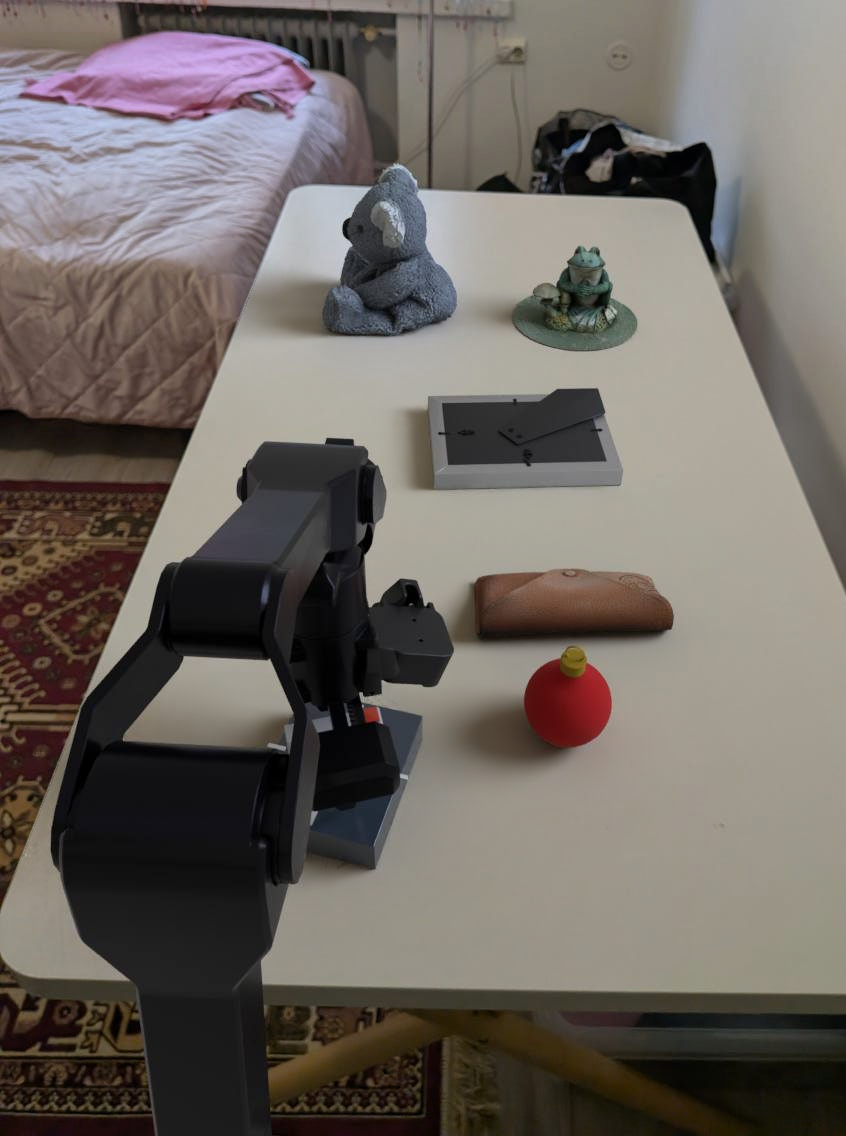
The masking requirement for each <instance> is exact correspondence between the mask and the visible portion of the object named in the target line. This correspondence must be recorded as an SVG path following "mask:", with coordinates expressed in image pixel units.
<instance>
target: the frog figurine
mask: <svg viewBox="0 0 846 1136" xmlns="http://www.w3.org/2000/svg"><path fill="white" fill-rule="evenodd" d="M566 264H567V267H565V268H564V269H563V270H562V271H561V273H560V275H559V278H558V280H557V281H556V284H555V285H554V284H552V283H550V282H543V283H540V284H538V285H536V287H534V288H533V290H532V294H531V295H530V296H528V297H526V298H524V299H523V300H522V301H520V302H519V303H517V304H516V306H515V307H514V308H513V311H512V321H513V324H514V325H515V327H516V328H517V330H518V331H520V332H521V333H522V334H523V335H525V337H527V338H529V339H530V340H533V341H534V342H537V343H540V344H542V345H545V346H549V347H552V348H556V349H561V350H565V351H566V350H567V351H583V352H584V351H586V352H587V351H600V350H603V349H604V350H605V349H609V348H613V347H615V346H619V345H621V344H623V343H625V342H626V341H628V340H629V339H630V338H632V337H633V336H634V334H635V333H636V331H637V330H638V329H637V328H638V318H637V316H636V314H635V313H634V312H633V311H632V310H631V309H630V308H629V307H628V306H627V305H625V304H624V303H622V302H620V301H619V300H616V299H615V298H612V297H611V296H612V291H613V288H614V283H613V282H612V281H610V277H609V274H608V272H607V271H606V268H604V267H605V266H606V261H605V260H604V259H603V257H602V256H601V250H600V248H599V247H598V246H596V245H595V246H592V247H590V249H589V250H587V249H586V248H585V246H583V245H577V248H575V250H574V252H573V255H572V256H571V257H570V258H569V259H568V260H566Z"/></svg>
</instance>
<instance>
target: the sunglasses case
mask: <svg viewBox="0 0 846 1136" xmlns="http://www.w3.org/2000/svg"><path fill="white" fill-rule="evenodd" d="M474 605H475V606H474V607H475V609H474V610H475V611H474V612H475V634H476V637H482V638H495V637H511V636H523V635H529V634H530V635H538V634H547V633H586V632H627V631H628V632H631V631H635V632H636V631H640V632H641V631H642V632H643V631H647V632H648V631H671V630H672V629H673V626H674V619H675V614H674V610H673V607H672V604H671V602H669V600H668V599H667V598H666V597H664V596H663V595H661V593H660V592H659V591H658V589H656V586H655V584H654V581H653V579H652V577H650V575H644V574H642V573H637V572H636V573H635V572H627V571H625V572H623V571H603V570H602V571H590V570H587V569H582V568H554V569H553V568H552V569H549V570H548V571H530V572H526V571H525V572H509V573H506V572H505V573H495V574H486V575H482V576H478V577H477V579H476V581H475V583H474Z"/></svg>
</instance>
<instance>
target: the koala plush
mask: <svg viewBox="0 0 846 1136" xmlns="http://www.w3.org/2000/svg"><path fill="white" fill-rule="evenodd" d="M377 182H378V184H375V185H373V186H372V187H371V188H370V189H369V190H367V192H366V193H365V194H364V195H363V197H361V199H360V201H358V203H357V204H356V205H355V207H354V208H353V211H352V214H351V216H350V217H347V218H346V219H344V220H343V222H342V227H341V231H342V236H343V237H344V239H346V240H347V241H349V243H350V244H351V246H349V248H348V250H347V252H346V253H345V254H346V255H345V256H344V262H343V266H342V268H341V273H340V278H339V281H340V282H339V284H338V285H337V286H336V285H333V286H331V287H330V289H329V290H328V293H327V295H326V297H325V299H324V304H323V307H322V311H321V315H322V318H321V319H322V321H323V326H324V327H326V329H327V330H328V329H331V331H333V332H334V333H341V334H347V335H370V334H371V335H374V334H378V335H384V336H390V337H392V336H396V335H400V334H401V333H402V331H403V330H404V329H405V330H408V331H417V329H420V328H423V327H425V326H426V325H428V324H431V323H438V322H439V323H440V322H446V321H447V320H448V319H450V318H452V317H453V314H454V312H455V310H456V307H457V306H458V294H457V290H456V287H455V286H454V282H453V280H452V277H451V276H450V275H449V273H448V272H447V270H445V268H444V267H442V265H440V264H439V263H437V262H436V261H435V259H434V257H433V256H432V254H431V252H430V251H429V249H428V246H427V243H426V241H427V234H428V228H427V222H428V220H427V212H426V209H425V206H424V204H423V202H422V200H421V199H420V198H419V192H420V191H419V188H418V180H417V179H415V178H414V177H413V174H412V172H411V171H409V169H408V168H406V167H405V166H404V165H402V164H399V162H397V163H395V162H394V163H393V164H392V166H391V165H390V166H387V167H385V169H382V173H381V175H380V177H379V178H378V180H377Z"/></svg>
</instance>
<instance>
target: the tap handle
mask: <svg viewBox="0 0 846 1136" xmlns="http://www.w3.org/2000/svg"><path fill="white" fill-rule="evenodd" d="M363 711H364V715H365V719H366V723H367V722H372V721H376V722H379V723H381V724H383V721H382V717H381V714H380V710H379V707H376V706H374V707H369V708H364V709H363ZM346 716H347V721H348V725H349V726H351V722H350V718H349V713H346ZM312 721H313V724H314V726H315V728H316V731H317V733H318V732H323V731H328V730H332V725H331V721H330V716H329V717H324V718H319V719H314V720H312ZM293 726H294V724H289V725H288V724H285V725H283V728H284V731H285V736H286V743H287V750H288V754H290V747H291V740H292V733H293Z"/></svg>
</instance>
